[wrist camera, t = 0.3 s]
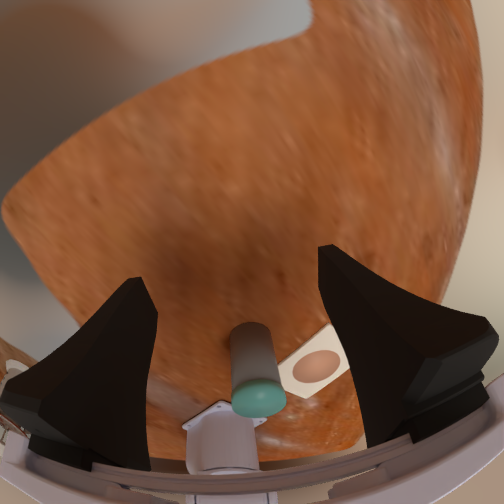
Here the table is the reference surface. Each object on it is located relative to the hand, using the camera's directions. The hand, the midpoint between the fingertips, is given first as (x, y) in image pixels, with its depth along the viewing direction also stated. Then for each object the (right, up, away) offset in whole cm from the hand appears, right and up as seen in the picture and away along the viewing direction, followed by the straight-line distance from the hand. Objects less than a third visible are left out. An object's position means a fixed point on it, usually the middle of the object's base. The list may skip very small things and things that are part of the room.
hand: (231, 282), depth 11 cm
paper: (+8, -12, +18) cm, 23 cm away
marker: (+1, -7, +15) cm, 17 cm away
